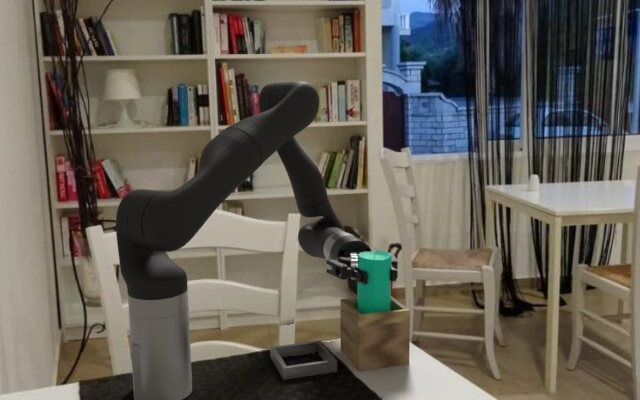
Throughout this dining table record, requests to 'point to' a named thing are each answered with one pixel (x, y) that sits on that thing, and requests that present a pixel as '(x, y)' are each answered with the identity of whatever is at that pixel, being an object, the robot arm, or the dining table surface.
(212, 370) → the dining table surface
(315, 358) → the dining table surface
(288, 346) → the grey square tray
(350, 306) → the wooden storage box
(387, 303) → the candle
